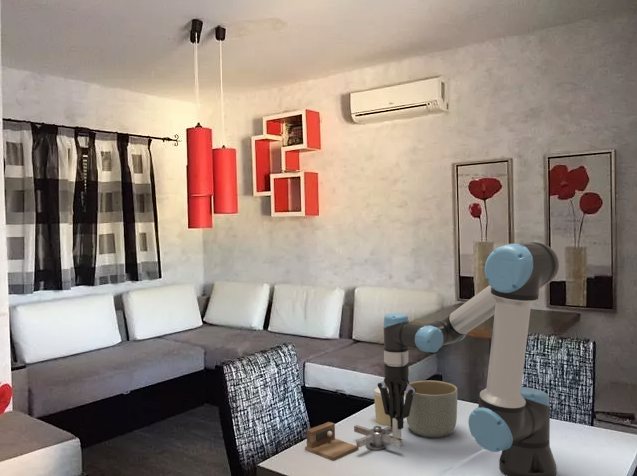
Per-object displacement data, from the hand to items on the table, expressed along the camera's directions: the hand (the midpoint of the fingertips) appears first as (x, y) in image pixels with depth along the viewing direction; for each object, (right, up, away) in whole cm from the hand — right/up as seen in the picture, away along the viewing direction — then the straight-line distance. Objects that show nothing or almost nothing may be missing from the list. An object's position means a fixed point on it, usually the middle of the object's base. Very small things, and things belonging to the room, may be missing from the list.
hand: (397, 438), depth 183 cm
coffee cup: (-1, -2, +20) cm, 20 cm away
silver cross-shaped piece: (-6, -2, -3) cm, 7 cm away
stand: (-14, -3, -3) cm, 15 cm away
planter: (+13, -2, +11) cm, 17 cm away
